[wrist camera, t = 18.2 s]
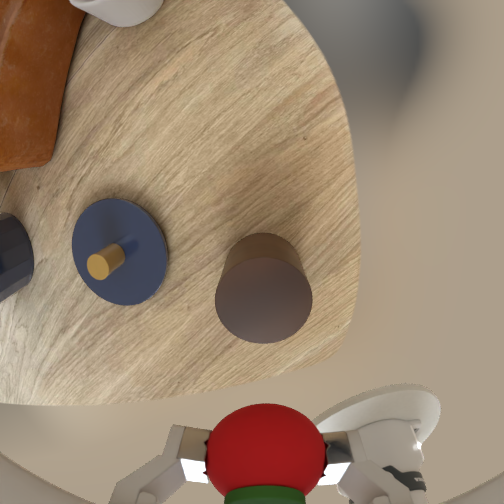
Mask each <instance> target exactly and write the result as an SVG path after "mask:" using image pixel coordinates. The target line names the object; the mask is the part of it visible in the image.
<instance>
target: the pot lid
mask: <svg viewBox="0 0 504 504" xmlns="http://www.w3.org/2000/svg"><path fill="white" fill-rule="evenodd" d="M72 252H73V258H74V261H75V265H76V267H77V270H78V272H79V274H80V276H81V277H82V279H83V280H84V282H85V283H86V284H87V286H88V287H89V288H90V289H91V290H92V291H93V292H94V293H96V294H97V295H98V296H99V297H101V298H103V299H104V300H106V301H109V302H111V303H114V304H118V305H135V304H139V303H142V302H144V301H146V300H148V299H149V298H151V297H152V296H153V295H154V294H155V293H156V292H157V291H158V289H159V288H160V286H161V285H162V283H163V281H164V279H165V276H166V273H167V268H168V250H167V245H166V241H165V239H164V236H163V233H162V231H161V229H160V227H159V226H158V224H157V223H156V221H155V220H154V219H153V217H152V216H151V215H150V214H149V213H148V212H147V211H146V210H145V209H143V208H142V207H140V206H139V205H137V204H135V203H134V202H131V201H129V200H126V199H121V198H107V199H104V200H100V201H98V202H95V203H93V204H92V205H90V206H89V207H88V208H87V209H86V210H84V212H83V213H82V214H81V215H80V217H79V219H78V220H77V223H76V225H75V228H74V231H73V237H72Z"/></svg>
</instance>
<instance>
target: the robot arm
mask: <svg viewBox="0 0 504 504" xmlns="http://www.w3.org/2000/svg"><path fill="white" fill-rule="evenodd" d="M420 428H421V422H420V420H419V419H414V420H409V421H405V420H400V419H388V420H382V421H378V422H374V423H371V424H369V425H366V426H363V427H361V428H359V429H357V430H351V431H338V432H326V433H320V434H321V436H322V438H323V441H324V444H325V448H326V450H325V466H324V471H323V474H322V476H321V478H320V480H319V481H318V483H317V485H330V484H336V486H337V490H338V492H339V494H342V495H343V496H345V497H347V498H349V499H350V500H349V504H429V502H428V500H427V497H426V494H425V492H426V486H425V481H424V479H423V478H422V475H421V473H420V472H419V470H420V467H421V465H422V464H423V460H424V455H423V452H422V450H421V444H420V442H418V437H419V433H420ZM211 433H212V430H205V429H198V428H192V427H186V426H180V425H173V426H172V427H171V429H170V433H169V436H168V439H167V442H166V445H165V448H164V451H163V454H162V456H161V455H158V456H156V457H155V458H154V459H152V460H151V461H149V462H148V463H146V464H145V465H143V466H142V467H140V468H139V469H137V470H136V471H134V472H133V473H132V474H130V475H128V476H127V477H125V478H124V479H122V480H120V481H119V482H118V483H117V484H116V486H115V489H114V491H113V494H112V496H111V499H110V501H109V504H162V503H163V502H164V501H166V500H167V499H168V498H169V497H170V496H171V495H172V494H173V493H174V492H176V491H177V490H178V489H179V488H180V487H181V486H182V485H183V484H184V483H185V482H186V480H189V481H196V482H205V483H208V480H209V476H208V474H207V471H206V458H207V447H206V444H207V442H208V440H209V437H210V435H211ZM0 504H95V503H92V502H90V501H87V500H85V499H83V498H80V497H78V496H76V495H74V494H72V493H69V492H67V491H65V490H63V489H61V488H59V487H57V486H55V485H53V484H51V483H50V482H48V481H46V480H44V479H42V478H40V477H39V476H37V475H35V474H33V473H32V472H30V471H28V470H27V469H25V468H23V467H22V466H20V465H19V464H17V463H16V462H14V461H13V460H11V459H10V458H8V457H7V456H5V455H4V454H2V453H1V452H0ZM440 504H504V472H502V473H500V474H499V475H497V476H495V477H494V478H492V479H490V480H488V481H486V482H485V483H483V484H481V485H479V486H477V487H475V488H473V489H471V490H469V491H467V492H465V493H463V494H461V495H459V496H456V497H454V498H452V499H450V500H447V501H445V502H443V503H440Z"/></svg>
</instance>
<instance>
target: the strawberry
mask: <svg viewBox="0 0 504 504" xmlns="http://www.w3.org/2000/svg"><path fill="white" fill-rule="evenodd" d="M206 447H207V458H206V471H207V474H208V476H209V478H210V481H211V482H212V484H213V485H214V487H215V488H216V489H217V490H218V491H219V492H220V493H221V494H222V495H223V496H224V497H225V500H224V504H306V502H305V496H306V495H307V494H308V493H309V492H310V491H311V490H312V489H313V488H314V487H315V486H316V484H317V483H318V481H319V480H320V478H321V476H322V474H323V471H324V466H325V450H326V448H325V444H324V441H323V438H322V436H321V434H320V432H319V430H318V429H317V427H316V426H315V425H314V424H313V422H312V421H310V420H309V419H308V418H307V417H306V416H305V415H303V414H301V413H300V412H298V411H296V410H294V409H292V408H289V407H286V406H282V405H278V404H255V405H250V406H246V407H243V408H241V409H238V410H236V411H234V412H233V413H231V414H229V415H228V416H226V417H225V418H224V419H222V420H221V421H220V422H219V423H218V425H217V426H216V427H215V428H214V430H213V431H212V433H211V435H210V437H209V440H208V442H207V444H206Z"/></svg>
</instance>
